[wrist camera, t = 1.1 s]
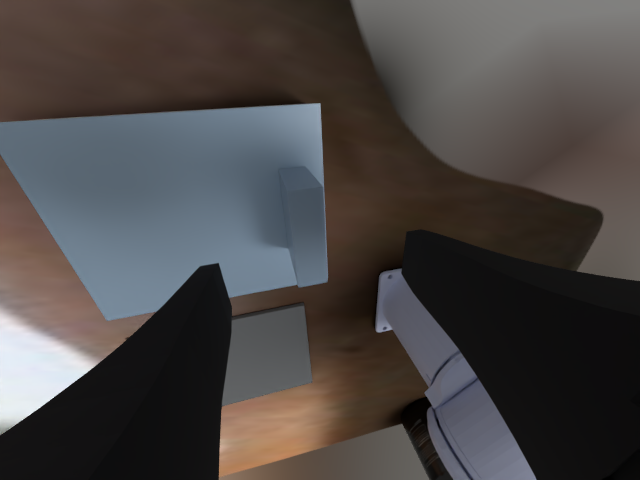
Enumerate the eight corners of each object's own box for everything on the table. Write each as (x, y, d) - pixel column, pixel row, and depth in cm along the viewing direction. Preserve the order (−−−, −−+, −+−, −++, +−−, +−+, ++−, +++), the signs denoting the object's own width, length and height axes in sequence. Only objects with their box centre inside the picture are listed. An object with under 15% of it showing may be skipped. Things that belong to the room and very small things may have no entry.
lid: (313, 103, 14) (346, 103, 9) (322, 266, 19) (346, 320, 15) (13, 121, 11) (-160, 133, 7) (118, 303, 17) (65, 382, 12)
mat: (303, 302, 24) (304, 305, 23) (311, 379, 30) (312, 382, 29) (127, 338, 21) (125, 342, 21) (174, 414, 27) (173, 418, 27)
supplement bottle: (406, 427, 42) (456, 532, 32) (394, 411, 38) (446, 524, 28) (442, 407, 42) (505, 507, 31) (434, 390, 38) (501, 495, 28)
